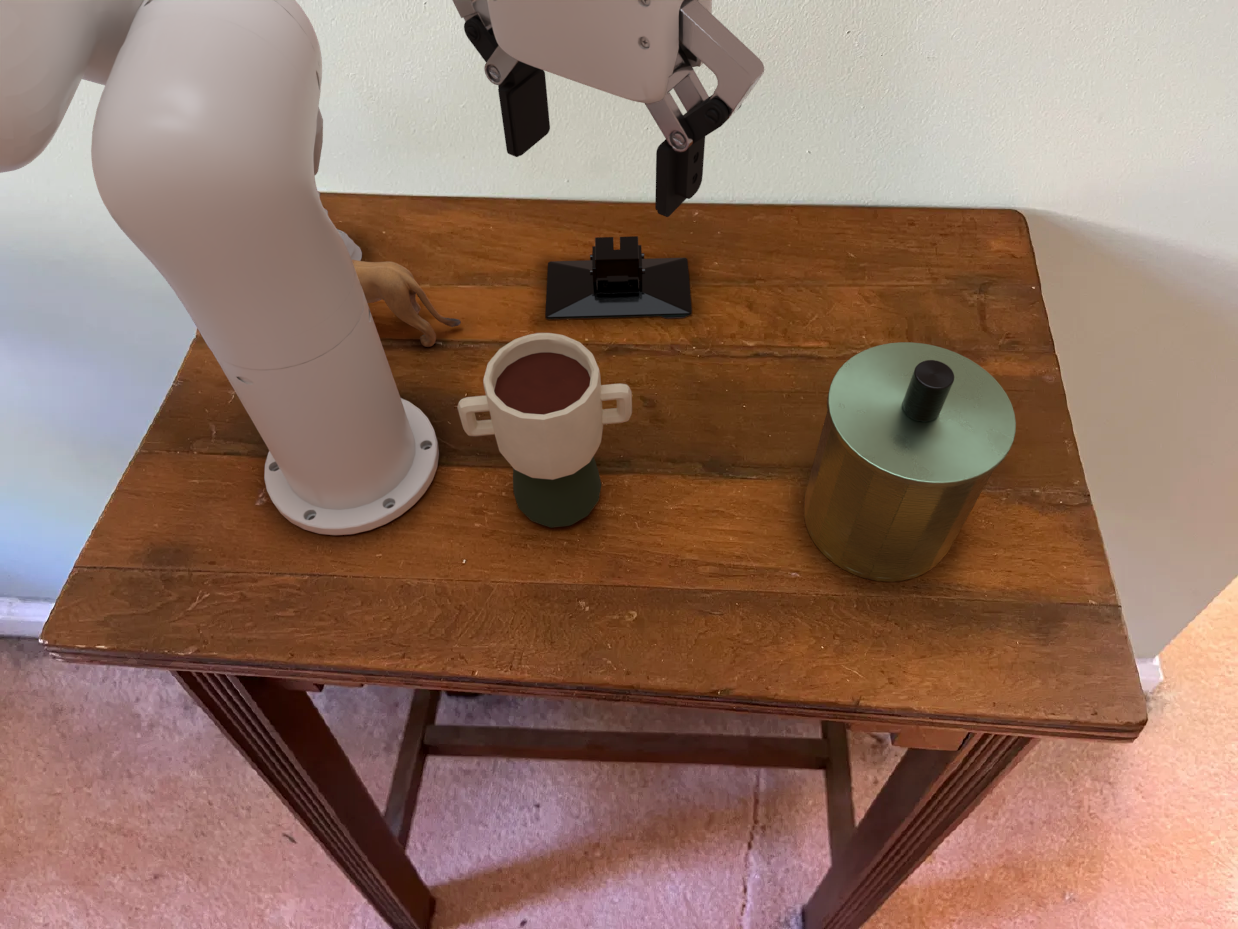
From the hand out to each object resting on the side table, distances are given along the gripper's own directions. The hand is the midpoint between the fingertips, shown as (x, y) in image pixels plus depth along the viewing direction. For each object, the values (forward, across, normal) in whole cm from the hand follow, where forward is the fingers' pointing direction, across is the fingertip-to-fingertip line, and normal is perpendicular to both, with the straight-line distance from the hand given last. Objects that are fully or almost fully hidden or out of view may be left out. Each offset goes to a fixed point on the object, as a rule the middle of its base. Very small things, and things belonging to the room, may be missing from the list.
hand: (600, 171), depth 47 cm
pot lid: (+12, -20, -4) cm, 23 cm away
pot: (+23, -20, -4) cm, 31 cm away
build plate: (+23, +8, -14) cm, 28 cm away
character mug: (+23, 0, +7) cm, 24 cm away
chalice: (+24, +33, -3) cm, 40 cm away
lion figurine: (+24, +24, +2) cm, 33 cm away
